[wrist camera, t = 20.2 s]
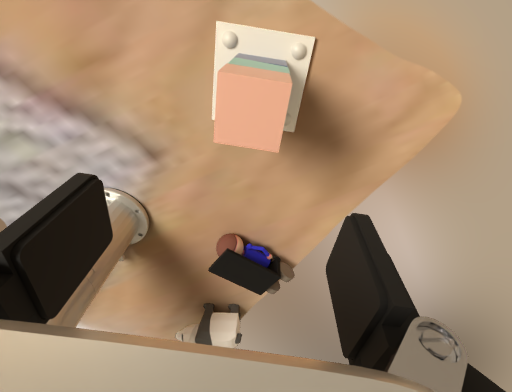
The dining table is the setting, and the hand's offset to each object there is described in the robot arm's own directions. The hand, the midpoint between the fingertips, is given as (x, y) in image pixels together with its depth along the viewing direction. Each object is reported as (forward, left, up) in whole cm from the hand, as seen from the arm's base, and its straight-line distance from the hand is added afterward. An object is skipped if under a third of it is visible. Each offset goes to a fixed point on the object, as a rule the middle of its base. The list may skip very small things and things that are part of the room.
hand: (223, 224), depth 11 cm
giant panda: (-52, +3, -31) cm, 60 cm away
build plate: (0, 0, -30) cm, 30 cm away
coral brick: (0, 0, -20) cm, 20 cm away
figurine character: (-31, -3, -31) cm, 44 cm away
